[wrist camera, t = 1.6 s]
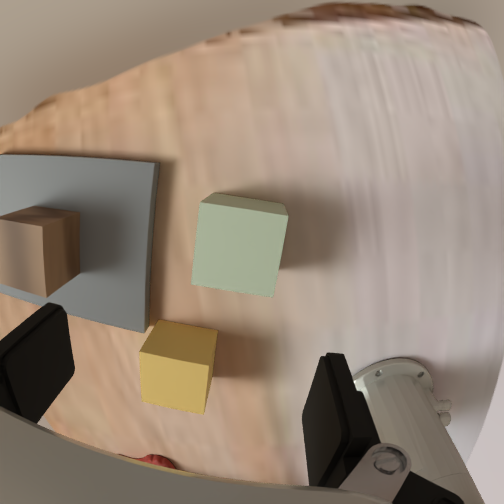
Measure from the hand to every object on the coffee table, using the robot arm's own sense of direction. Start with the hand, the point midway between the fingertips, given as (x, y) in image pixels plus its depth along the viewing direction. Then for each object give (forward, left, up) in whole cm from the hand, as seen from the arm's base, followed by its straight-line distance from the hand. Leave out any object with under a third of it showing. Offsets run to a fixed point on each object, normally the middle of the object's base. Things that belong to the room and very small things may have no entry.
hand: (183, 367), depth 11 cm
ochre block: (+3, +12, -19) cm, 23 cm away
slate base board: (+17, +2, -18) cm, 25 cm away
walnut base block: (+17, +2, -17) cm, 24 cm away
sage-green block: (-1, -1, -19) cm, 19 cm away
